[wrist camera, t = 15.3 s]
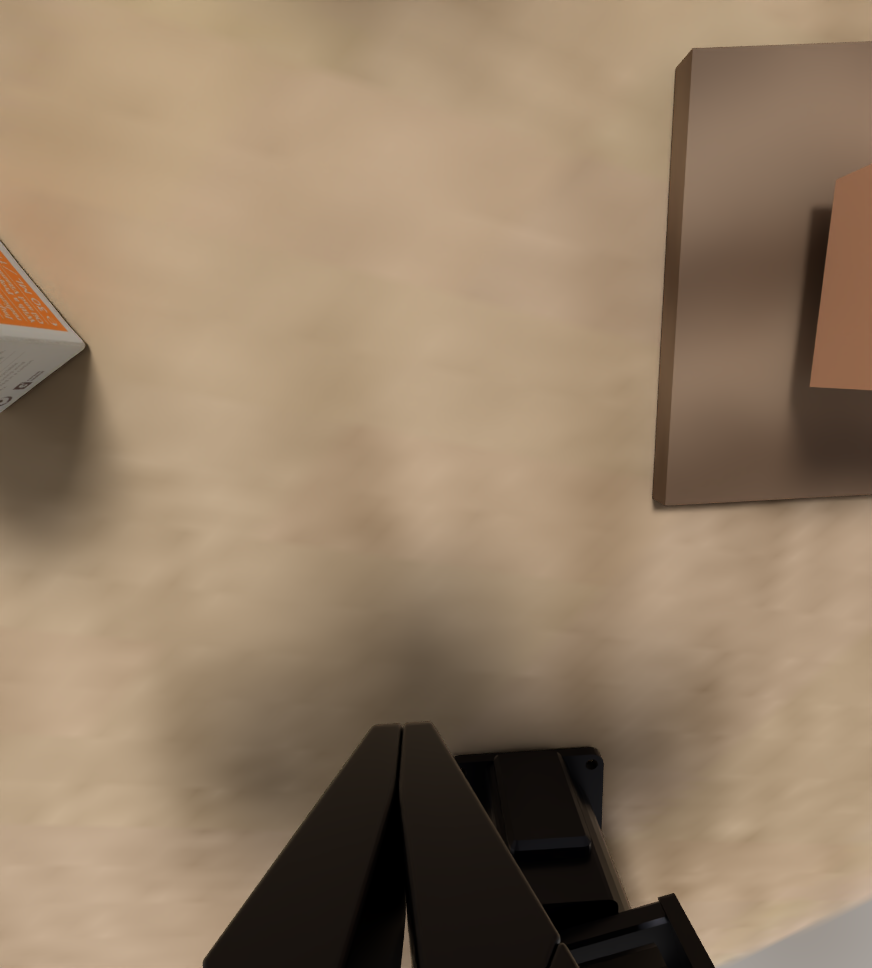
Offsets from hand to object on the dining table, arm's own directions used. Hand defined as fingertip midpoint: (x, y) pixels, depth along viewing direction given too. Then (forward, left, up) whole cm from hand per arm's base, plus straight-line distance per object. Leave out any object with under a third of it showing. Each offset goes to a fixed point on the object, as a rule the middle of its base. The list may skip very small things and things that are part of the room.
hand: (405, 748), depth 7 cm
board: (+7, -16, -12) cm, 21 cm away
